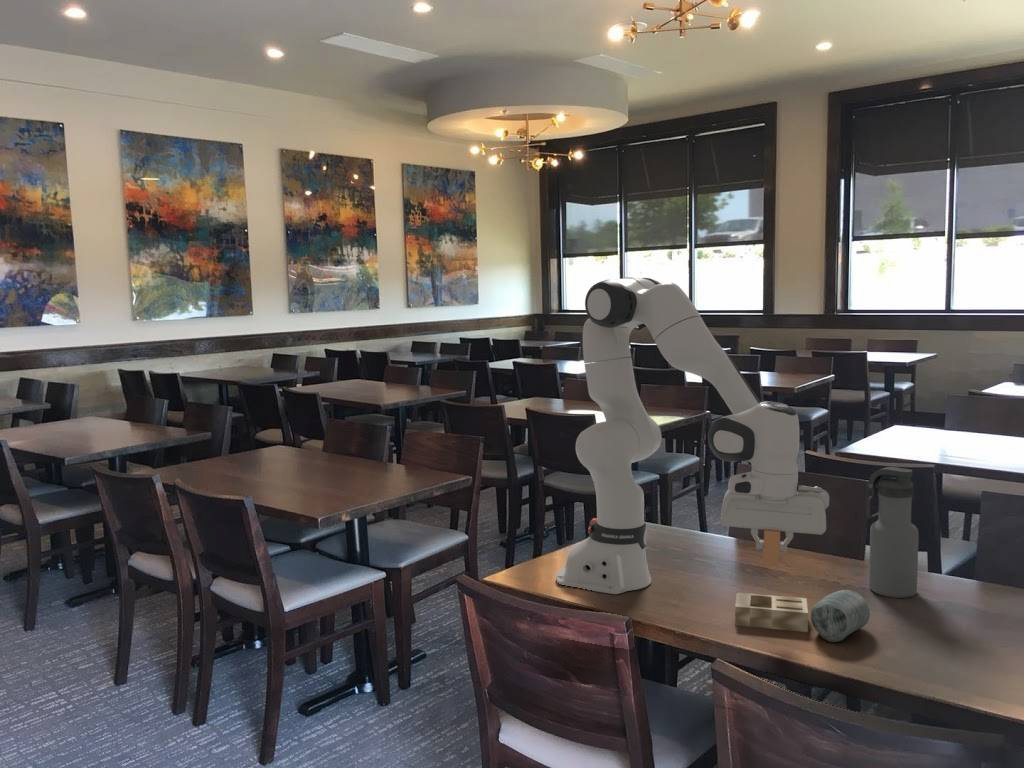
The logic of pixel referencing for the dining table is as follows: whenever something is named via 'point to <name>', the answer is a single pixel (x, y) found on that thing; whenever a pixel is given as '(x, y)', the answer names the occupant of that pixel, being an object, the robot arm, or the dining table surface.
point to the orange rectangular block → (771, 547)
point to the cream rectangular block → (771, 612)
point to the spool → (839, 615)
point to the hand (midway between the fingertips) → (771, 550)
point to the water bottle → (893, 535)
